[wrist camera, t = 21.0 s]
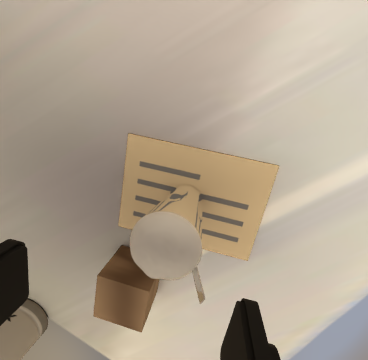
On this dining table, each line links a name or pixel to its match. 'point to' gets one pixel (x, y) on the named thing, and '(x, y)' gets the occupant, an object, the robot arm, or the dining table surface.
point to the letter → (207, 186)
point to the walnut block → (124, 292)
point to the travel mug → (22, 330)
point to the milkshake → (171, 237)
